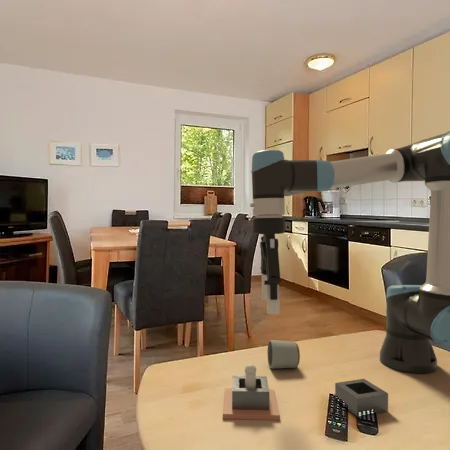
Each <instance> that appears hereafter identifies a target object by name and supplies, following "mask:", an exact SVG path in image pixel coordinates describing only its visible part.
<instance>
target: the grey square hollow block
mask: <svg viewBox="0 0 450 450" xmlns="http://www.w3.org/2000/svg"><path fill="white" fill-rule="evenodd" d="M334 385H335V387H334V389H335V390H334V391H335V392H334V396H338V397H339V398H340V399H342V400H343V401H344V402H345V403H346V404H347V405H348V408H349V410H348V411H349V412H350V413H351V414H352V415H354V416H355V415H356V413H358V412H362V411H366V410H372V409H375V410H376V414H381V413H387V412H389V393H388V392H387V391H385V390H383V389H381V388H380V387H378V386H376V385H375V384H374V383H372V382H371V381H368V380H367V379H366V378H360V379H359V378H358V379H351V380H345V381H341V382H335V384H334ZM376 414H375V415H376Z"/></svg>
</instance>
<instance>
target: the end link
mask: <svg viewBox="0 0 450 450" xmlns="http://www.w3.org/2000/svg"><path fill="white" fill-rule="evenodd" d="M231 385H232V388H231V389H232V410H269V389H270V387H269V383H268V377H267V376H265V375H264V376H263V375H256V388H245V375H232V383H231Z"/></svg>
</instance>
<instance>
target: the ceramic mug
mask: <svg viewBox="0 0 450 450" xmlns="http://www.w3.org/2000/svg"><path fill="white" fill-rule="evenodd" d="M266 351H267V363H268V367H269V368H270V369H271V370H273V369H294V368H297V367H298V366H299V364H300V362H301V361H300V360H301V359H300V358H301V353H300V347H299V345H298V343H297V342H295V341H291V340H290V341H289V340H279V339H278V340H276V339H270V340H268V343H267V350H266Z"/></svg>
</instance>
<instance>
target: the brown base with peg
mask: <svg viewBox="0 0 450 450" xmlns="http://www.w3.org/2000/svg"><path fill="white" fill-rule="evenodd" d="M244 376H245V388H256V376H257V368H256V366H255V365H254V364H253V363H248V364H247V365H245V367H244ZM222 405H223V407H222V419H223V420H224V419H225V420H260V421H263V420H264V421H266V420H268V421H281V413H280V410H279V404H278V400H277V395H276V391H275V389H270V388H269V410H232V388H228V387H227V388H226V387H225V388H224V395H223V404H222Z"/></svg>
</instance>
